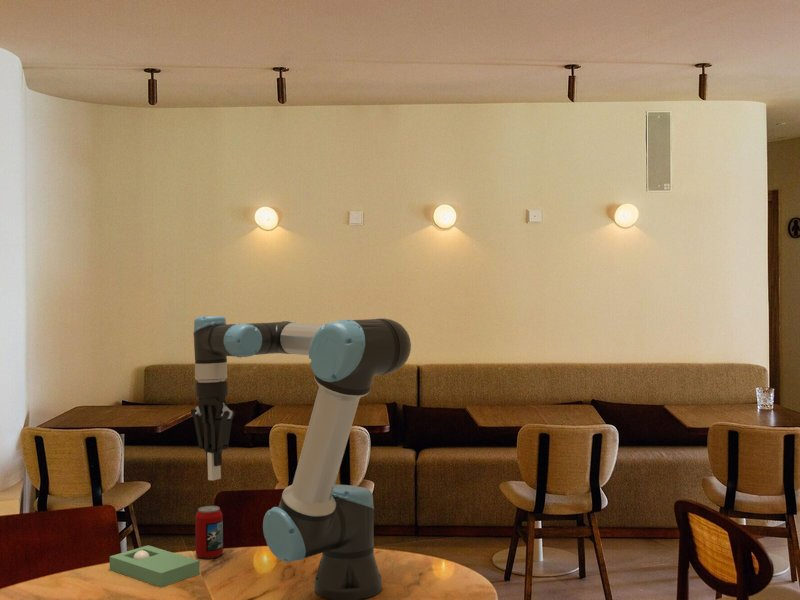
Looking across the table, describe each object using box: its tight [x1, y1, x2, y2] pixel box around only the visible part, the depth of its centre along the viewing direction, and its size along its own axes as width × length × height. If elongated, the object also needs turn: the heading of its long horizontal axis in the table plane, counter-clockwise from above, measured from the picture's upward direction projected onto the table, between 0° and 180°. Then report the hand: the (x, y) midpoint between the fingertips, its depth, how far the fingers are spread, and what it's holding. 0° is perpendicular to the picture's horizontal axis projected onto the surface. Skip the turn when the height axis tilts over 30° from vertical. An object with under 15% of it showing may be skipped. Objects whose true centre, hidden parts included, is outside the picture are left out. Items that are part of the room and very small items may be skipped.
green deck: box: [109, 545, 201, 588], centre depth 204 cm, size 20×11×3 cm, turn 53°
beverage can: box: [194, 505, 224, 560], centre depth 216 cm, size 7×7×12 cm
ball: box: [133, 550, 150, 560], centre depth 207 cm, size 4×4×4 cm
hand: (214, 479), depth 203 cm, fingers closed
